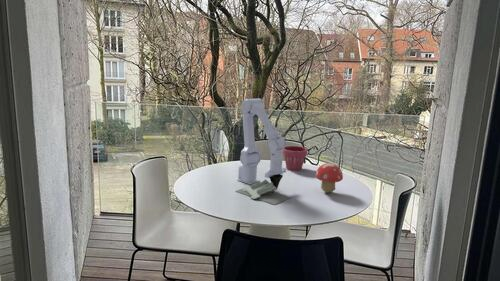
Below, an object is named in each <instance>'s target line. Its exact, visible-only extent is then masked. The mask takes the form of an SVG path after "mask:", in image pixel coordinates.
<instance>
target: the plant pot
mask: <svg viewBox="0 0 500 281" xmlns="http://www.w3.org/2000/svg"><path fill="white" fill-rule="evenodd" d="M307 154H308V148H306V147H304V146H299V145H288V146H287V145H286V146H285V148H284V149H283V157H284V162H285V168H286V170H288V171H293V172H299V171H301V170H302V169H303V165H304V162H305V158H306V156H308V155H307Z"/></svg>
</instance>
